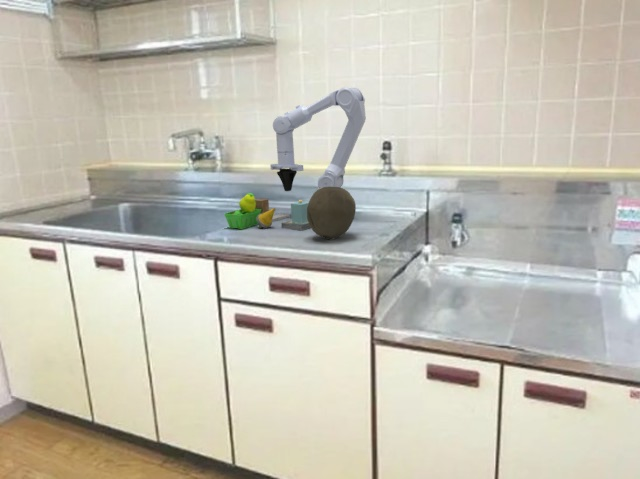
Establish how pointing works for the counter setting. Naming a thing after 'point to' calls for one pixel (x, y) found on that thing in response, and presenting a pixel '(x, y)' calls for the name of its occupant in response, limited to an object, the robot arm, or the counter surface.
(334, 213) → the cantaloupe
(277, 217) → the track
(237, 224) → the fruit basket
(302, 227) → the press bed
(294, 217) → the block
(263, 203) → the brown tall block
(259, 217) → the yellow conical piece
